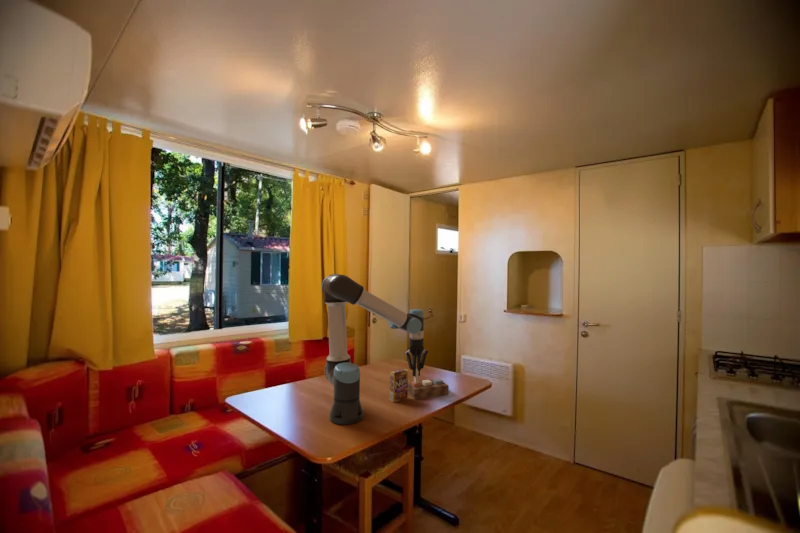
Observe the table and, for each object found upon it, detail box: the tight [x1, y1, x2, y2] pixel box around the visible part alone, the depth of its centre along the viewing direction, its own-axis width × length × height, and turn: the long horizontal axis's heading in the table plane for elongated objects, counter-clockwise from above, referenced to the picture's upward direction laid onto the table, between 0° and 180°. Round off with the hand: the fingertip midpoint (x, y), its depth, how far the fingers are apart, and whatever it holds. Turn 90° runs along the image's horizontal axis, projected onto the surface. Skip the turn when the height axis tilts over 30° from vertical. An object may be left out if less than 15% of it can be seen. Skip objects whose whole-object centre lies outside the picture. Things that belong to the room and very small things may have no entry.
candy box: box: [388, 368, 409, 403], centre depth 182 cm, size 9×4×15 cm, turn 123°
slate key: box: [433, 378, 444, 384], centre depth 195 cm, size 4×4×4 cm
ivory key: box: [421, 379, 432, 386], centre depth 192 cm, size 4×4×4 cm
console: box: [408, 378, 449, 400], centre depth 192 cm, size 20×12×5 cm, turn 111°
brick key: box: [410, 380, 421, 387], centre depth 190 cm, size 4×4×4 cm
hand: (416, 381), depth 190 cm, fingers closed
